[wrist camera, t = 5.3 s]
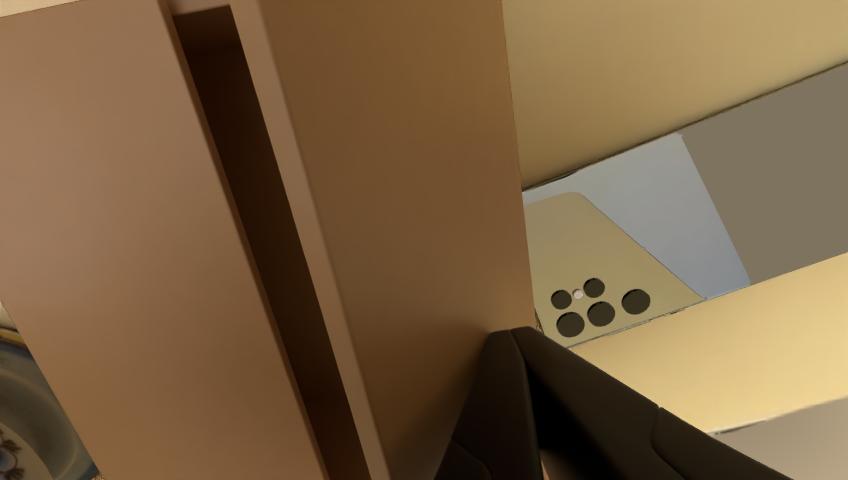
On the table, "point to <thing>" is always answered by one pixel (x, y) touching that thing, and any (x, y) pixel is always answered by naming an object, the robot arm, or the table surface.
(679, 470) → the robot arm
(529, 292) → the flap
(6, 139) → the carton
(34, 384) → the apothecary jar
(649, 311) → the smartphone
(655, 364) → the table surface
